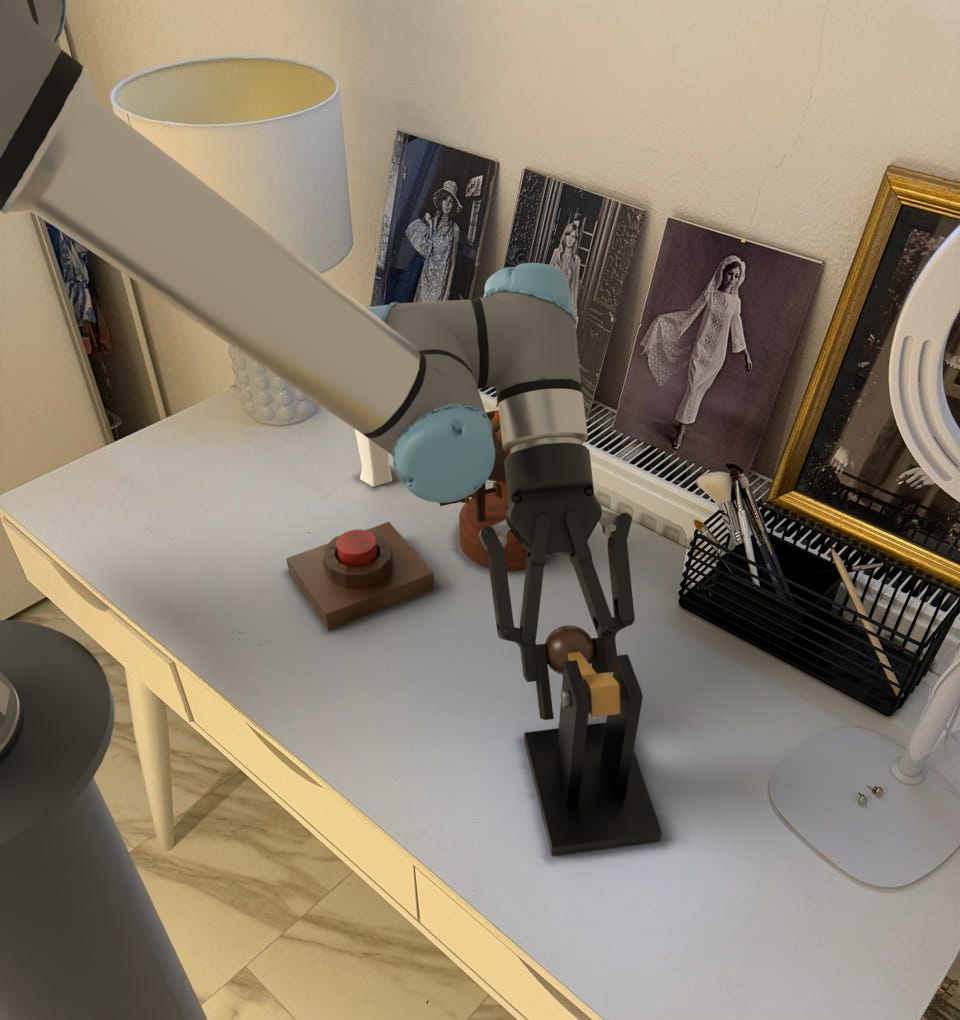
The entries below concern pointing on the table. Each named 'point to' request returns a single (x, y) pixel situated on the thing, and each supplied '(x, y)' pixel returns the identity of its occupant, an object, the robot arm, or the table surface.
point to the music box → (489, 510)
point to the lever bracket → (592, 770)
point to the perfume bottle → (373, 461)
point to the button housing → (360, 578)
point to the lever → (583, 668)
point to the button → (356, 548)
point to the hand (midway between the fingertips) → (575, 714)
